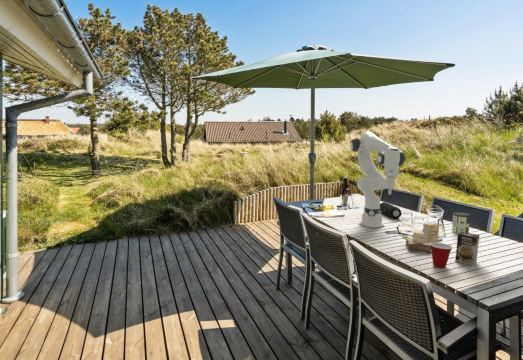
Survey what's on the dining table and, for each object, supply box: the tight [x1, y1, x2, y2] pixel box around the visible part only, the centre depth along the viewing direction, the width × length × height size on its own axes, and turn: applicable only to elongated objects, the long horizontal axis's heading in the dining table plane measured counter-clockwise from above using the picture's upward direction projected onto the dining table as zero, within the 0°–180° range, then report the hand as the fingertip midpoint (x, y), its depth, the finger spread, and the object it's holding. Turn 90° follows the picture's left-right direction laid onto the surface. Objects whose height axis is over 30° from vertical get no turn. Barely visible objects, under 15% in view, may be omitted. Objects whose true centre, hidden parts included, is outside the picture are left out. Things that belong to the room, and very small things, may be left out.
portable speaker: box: [380, 201, 403, 220], centre depth 265 cm, size 26×10×10 cm, turn 4°
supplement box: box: [422, 222, 440, 243], centre depth 195 cm, size 8×5×13 cm, turn 105°
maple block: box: [412, 230, 424, 243], centre depth 186 cm, size 5×5×6 cm
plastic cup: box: [430, 242, 454, 269], centre depth 161 cm, size 11×11×12 cm
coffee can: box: [451, 211, 471, 235], centre depth 215 cm, size 10×10×14 cm
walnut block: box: [405, 237, 432, 254], centre depth 187 cm, size 12×12×5 cm
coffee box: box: [455, 232, 480, 267], centre depth 165 cm, size 9×6×16 cm
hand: (389, 192), depth 198 cm, fingers open, 8 cm apart
